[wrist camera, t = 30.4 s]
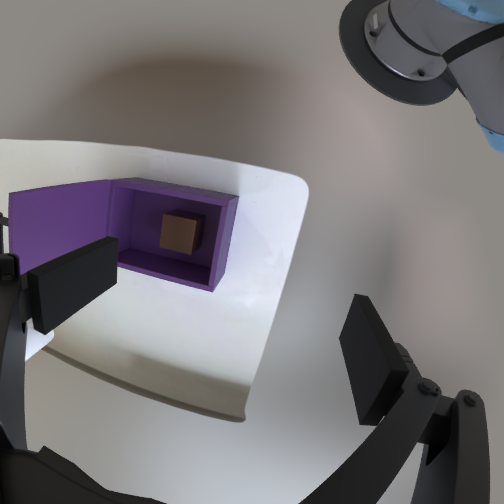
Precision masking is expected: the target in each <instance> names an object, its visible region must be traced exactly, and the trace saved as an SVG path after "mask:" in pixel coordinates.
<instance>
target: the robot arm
mask: <svg viewBox="0 0 504 504" xmlns="http://www.w3.org/2000/svg"><path fill="white" fill-rule="evenodd" d="M363 36H364V40H365V43H366V46H367V48H368V50H369V51H370V53H371V55H372V56H373V57H374V59H375V60H376V61H377V62H378V63H379V64H380V65H381V66H382V67H383V68H385V69H386V70H387V71H389V72H390V73H392V74H393V75H395V76H397V77H399V78H401V79H404V80H407V81H411V82H427V81H430V80H433V79H434V78H436V77H438V76H439V75H441V74H442V73H443V72H445V74H446V75H447V76H448V77H449V78H450V79H451V80H452V82H453V83H454V84H455V85H456V87H457V88H458V89H459V91H460V92H461V93H462V95H463V96H464V97H465V98H466V99H467V100H468V102H469V103H470V105H471V107H472V109H473V111H474V113H475V115H476V120H477V123H478V124H479V126H480V127H481V128H482V130H483V132H484V134H485V136H486V138H487V140H488V142H489V144H490V145H491V146H492V147H493V148H494V149H495V150H496V151H497V152H499V153H501V154H503V155H504V0H388V1H386V2H384V3H382V4H380V5H378V6H376V7H374V8H373V9H372V10H371V11H370V12H369V14H368V16H367V18H366V20H365V22H364V25H363ZM447 65H448V67H449V68H450V70H451V72H452V73H453V75H454V77H455V78H456V79H455V78H454V77H453V75H452V74H451V73H450V72H449V71H448V70H447V69H446V67H447ZM118 245H119V239H118V238H114V237H110V236H107V237H104V238H102V239H99V240H97V241H94V242H92V243H90V244H87V245H85V246H83V247H80V248H78V249H75V250H73V251H71V252H69V253H66V254H64V255H62V256H59V257H57V258H55V259H53V260H50V261H48V262H46V263H44V264H42V265H39V266H37V267H35V268H33V269H31V270H29V271H27V272H26V273H24V274H22V275H20V262H19V256H18V255H16V254H12V253H5V254H0V504H166V503H163V502H160V501H157V500H154V499H152V498H144V497H139V496H133V495H128V494H123V493H118V492H114V491H109V490H107V489H105V488H103V487H102V486H101V485H99V484H98V483H97V482H95V481H94V480H93V479H92V478H90V477H89V476H88V475H87V474H86V473H85V472H83V471H82V470H81V469H80V468H79V467H78V466H76V465H75V464H74V463H72V462H71V461H69V460H67V459H65V458H64V457H62V456H60V455H58V454H57V453H55V452H53V451H52V450H50V449H49V448H47V447H46V446H43V447H42V449H41V450H40V451H39V452H34V451H30V450H28V449H27V443H26V431H25V413H24V374H25V355H26V342H27V332H28V327H27V321H28V320H29V319H31V318H32V322H33V328H34V330H36V331H38V332H40V333H41V334H43V335H47V334H48V333H49V332H51V331H52V330H53V329H55V328H56V327H57V326H59V325H60V324H61V323H63V322H64V321H65V320H67V319H68V318H69V317H71V316H72V315H73V314H75V313H76V312H77V311H79V310H80V309H81V308H83V307H84V306H86V305H87V304H88V303H90V302H91V301H93V300H94V299H95V298H97V297H98V296H99V295H101V294H102V293H104V292H105V291H107V290H108V289H109V288H111V287H112V286H114V285H115V284H116V283H117V262H118ZM339 340H340V344H341V348H342V352H343V356H344V360H345V364H346V368H347V371H348V375H349V380H350V384H351V388H352V393H353V397H354V401H355V406H356V410H357V415H358V419H359V424H360V425H370V426H377V425H378V424H379V425H378V426H377V427H376V428H375V429H374V431H373V432H372V433H371V434H370V435H369V436H368V437H367V439H366V440H365V441H364V442H363V443H362V444H361V445H360V446H359V447H358V448H357V450H356V451H355V452H354V453H353V454H352V455H351V456H350V457H349V458H348V459H347V460H346V461H345V462H344V463H343V464H342V465H341V466H340V467H339V468H338V469H337V470H336V471H335V472H334V473H333V474H332V475H331V476H330V477H329V478H327V480H325V481H324V482H323V483H322V484H321V485H320V486H319V487H318V488H317V489H315V490H314V491H313V492H312V493H311V494H310V495H309V496H307V497H306V498H305V499H304V500H303V501H301V502H300V503H299V504H376V503H377V501H378V500H379V499H380V498H381V496H382V495H383V494H384V492H385V491H386V489H387V488H388V486H389V485H390V484H391V483H392V481H393V480H394V478H395V477H396V475H397V474H398V472H399V471H400V469H401V467H402V466H403V465H404V463H405V461H406V460H407V458H408V457H409V455H410V453H411V452H412V450H413V448H414V447H415V445H416V443H417V442H419V443H423V444H424V448H423V453H422V458H421V464H420V468H419V473H418V477H417V481H416V485H415V489H414V493H413V497H412V501H411V504H489V503H490V459H489V443H488V431H487V422H486V414H485V408H484V402H483V400H482V399H481V397H480V396H479V395H478V394H477V393H475V392H472V391H470V390H461V391H460V392H459V393H458V394H457V396H456V397H455V399H453V398H450V397H446V396H442V395H441V393H442V391H441V389H440V387H439V386H438V385H437V384H436V383H435V382H433V381H432V380H429V379H427V378H422V376H421V375H420V373H419V371H418V369H417V367H416V366H415V364H414V363H413V360H412V358H410V355H409V353H408V351H407V350H406V349H405V348H404V347H403V346H402V345H401V344H399V343H394V341H393V339H392V337H391V336H390V334H389V332H388V330H387V329H386V327H385V325H384V323H383V321H382V320H381V318H380V316H379V314H378V313H377V311H376V309H375V307H374V306H373V304H372V302H371V301H370V299H369V297H368V296H364V295H359V294H355V295H354V298H353V301H352V304H351V307H350V309H349V312H348V315H347V318H346V321H345V324H344V326H343V329H342V332H341V334H340V337H339ZM383 416H385V417H384V419H383V420H382V421H381V419H382V418H383ZM380 421H381V422H380ZM379 422H380V423H379Z"/></svg>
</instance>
